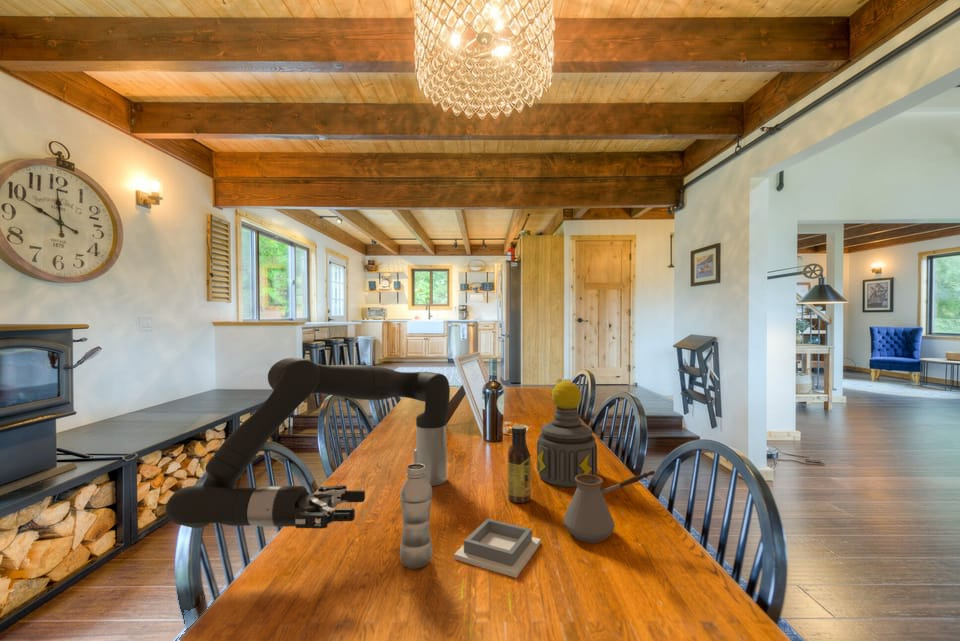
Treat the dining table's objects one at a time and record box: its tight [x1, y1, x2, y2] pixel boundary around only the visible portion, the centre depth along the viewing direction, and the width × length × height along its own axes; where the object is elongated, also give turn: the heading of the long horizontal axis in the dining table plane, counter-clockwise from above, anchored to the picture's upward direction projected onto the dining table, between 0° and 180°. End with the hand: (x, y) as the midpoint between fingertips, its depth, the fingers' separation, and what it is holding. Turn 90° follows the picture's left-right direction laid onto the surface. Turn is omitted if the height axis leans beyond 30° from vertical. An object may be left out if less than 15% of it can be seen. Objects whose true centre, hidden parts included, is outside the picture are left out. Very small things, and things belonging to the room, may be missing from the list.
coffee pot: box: [563, 470, 659, 544], centre depth 98 cm, size 21×12×15 cm, turn 87°
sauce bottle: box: [507, 425, 531, 504], centre depth 118 cm, size 7×6×20 cm
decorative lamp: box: [536, 380, 598, 488], centre depth 134 cm, size 19×19×30 cm
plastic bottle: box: [399, 463, 434, 570], centre depth 87 cm, size 6×7×20 cm
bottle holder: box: [453, 518, 542, 579], centre depth 92 cm, size 14×14×4 cm
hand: (359, 504), depth 87 cm, fingers open, 8 cm apart
